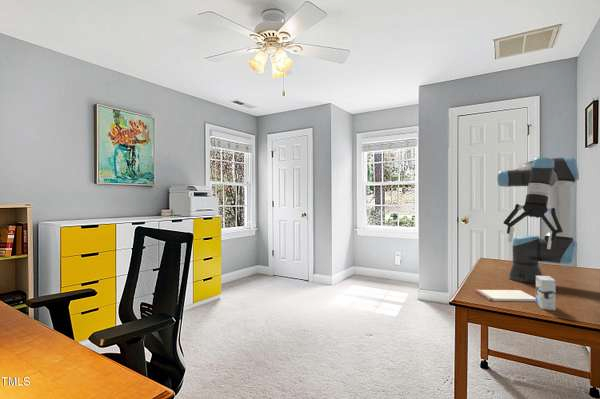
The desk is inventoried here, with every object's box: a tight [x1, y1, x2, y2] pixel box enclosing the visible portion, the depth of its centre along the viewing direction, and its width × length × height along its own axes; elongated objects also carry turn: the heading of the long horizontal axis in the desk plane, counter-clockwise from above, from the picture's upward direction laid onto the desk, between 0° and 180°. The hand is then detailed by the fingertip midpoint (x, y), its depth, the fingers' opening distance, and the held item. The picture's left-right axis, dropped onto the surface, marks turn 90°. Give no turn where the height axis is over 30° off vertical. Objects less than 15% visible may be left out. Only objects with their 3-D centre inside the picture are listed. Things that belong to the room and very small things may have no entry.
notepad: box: [475, 289, 536, 302], centre depth 152 cm, size 20×13×1 cm, turn 86°
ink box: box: [535, 275, 557, 311], centre depth 138 cm, size 8×5×12 cm, turn 159°
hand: (528, 245), depth 139 cm, fingers open, 13 cm apart
